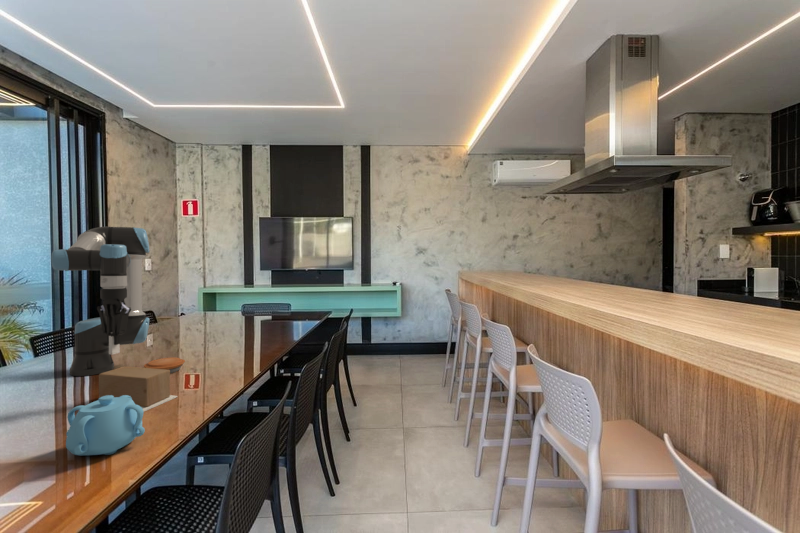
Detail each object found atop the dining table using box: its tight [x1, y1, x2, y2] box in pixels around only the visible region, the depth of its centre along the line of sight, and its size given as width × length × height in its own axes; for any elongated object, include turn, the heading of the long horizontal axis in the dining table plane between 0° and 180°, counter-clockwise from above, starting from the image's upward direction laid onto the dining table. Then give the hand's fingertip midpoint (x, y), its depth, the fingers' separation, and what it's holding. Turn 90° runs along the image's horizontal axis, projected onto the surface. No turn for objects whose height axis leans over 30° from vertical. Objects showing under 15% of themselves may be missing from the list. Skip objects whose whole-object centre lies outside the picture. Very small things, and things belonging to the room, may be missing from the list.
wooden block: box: [98, 365, 171, 407], centre depth 131 cm, size 10×10×20 cm
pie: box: [143, 356, 186, 374], centre depth 165 cm, size 16×16×5 cm
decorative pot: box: [65, 395, 146, 456], centre depth 100 cm, size 16×16×14 cm
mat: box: [140, 394, 178, 413], centre depth 130 cm, size 15×19×1 cm
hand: (114, 353), depth 132 cm, fingers closed
